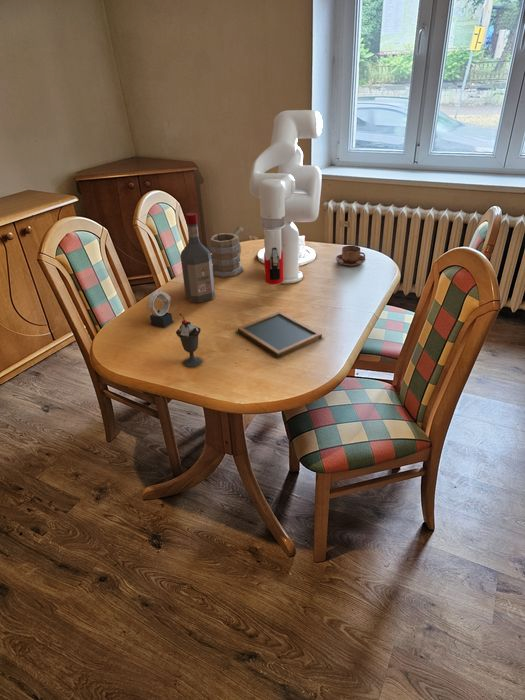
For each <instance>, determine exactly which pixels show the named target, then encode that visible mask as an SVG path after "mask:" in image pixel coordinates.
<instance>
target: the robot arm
mask: <svg viewBox="0 0 525 700" xmlns="http://www.w3.org/2000/svg"><path fill="white" fill-rule="evenodd" d="M272 125H273V126H272V127H273V129H272V134H271V138H270V139H271V140H270V145H269V146H268V147H267V148H266V149H265V150H263V151H262V152H261V153H259V155H258V156H257V158H255V160H254V161H253V164H252V167H251V171H250V176H249V184H248V188H249V193H250V195H251V196H252V197H253V198H256V199H259V211H260V213H259V214H260V216H259V217H260V228H261V229H262V230H263V242H264V245H263V246H264V247H263V248H265V258H266V260H270V280H279V279H280V267H279V260H280V259H281V250H282V251H283V268H284V280H283V282H282V283H281V284H294V283H298V282H300V281H301V280H302V279H303V278H304V277H303V276H304V275H303V272H302V271H300V266H299V236H300V231H299V229H298V228H297V226H296V224H295V223H313V222H316V220H318V217H319V213H320V206H321V193H322V171H321V169H320V168H319V167H318V166H316V165H311V164H310V165H309V164H307V165H306V164H303V163H304V162H303V160H304V153H303V151H302V149H301V147H300V146H298V139H301V140H303V139H305V140H306V139H313V140H314V139H318V138H319V137H320V136H321V133H322V129H323V119H322V115H321V114H320V112H319V111H316V110H312V109H291V110H290V109H289V110H283V111H281V112H278V114H277V115H275V117H274V119H273V123H272ZM276 167H278V169H277V172H276V173H275V172H267V171H269V170H271V169H274V168H276ZM271 257H273V259H271ZM272 261H273V263H272Z"/></svg>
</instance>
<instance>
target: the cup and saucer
mask: <svg viewBox="0 0 525 700" xmlns="http://www.w3.org/2000/svg"><path fill="white" fill-rule="evenodd" d="M335 261H336V262H337V263H338V264H340V265H342V266H346V267H347V266H348V267H356V266H359V265H362V264H364V263H365V261H366V254H365V252H362V251H361V247H360V246H357V245H344V246H342V248H341V254H338V255H337V256H335Z"/></svg>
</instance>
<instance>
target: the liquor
mask: <svg viewBox="0 0 525 700" xmlns="http://www.w3.org/2000/svg"><path fill="white" fill-rule="evenodd" d="M185 221H186V223H185V224H186V226H187V235H188V236H187V237H188V240H187V244H186V245H185V246H184V248H183V249H182V250H181V252H180V263H181V271H182V277H183V284H184V293H185V297H186V298H187V299H188V300H189V301H190V302H191V303H194V304H201V303H205V302H208V301H211V300H213V298H214V297H215V295H216V292H215V291H216V290H215V283H214V281H215V280H214V275H213V269H212V265H213V264H212V259H211V254H212V253H211V251H210V249H208V248H207V247H206V246H205V245H203V243H202V242H201V240H200V236H199V225H198V223H199V222H198V214H197V213H196V212H187V213H185Z"/></svg>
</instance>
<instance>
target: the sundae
mask: <svg viewBox="0 0 525 700" xmlns="http://www.w3.org/2000/svg"><path fill="white" fill-rule="evenodd" d="M179 316H181V317H182V319H183V320H181V325H180V326H179V328H178V329H177V330H176V331H175V334H176V336H177V337H178V338H179V339H180V343H181V346H182V348H183V350H184V351H185V352H186V353H189V357H188V358H186V359H184V361H183V364H184V366H186V367H188V368H194V367H198V366H200V365H201V363H202V359H201V358H200V357H198V356H195V354H194V353H195V352H196V351H197V349H198V348H199V335H200V333H201V328H200V327H198V326H196V325H194V324H193V323H192V322H191V321H187V320H185V317H184V315H182V313H179Z"/></svg>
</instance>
